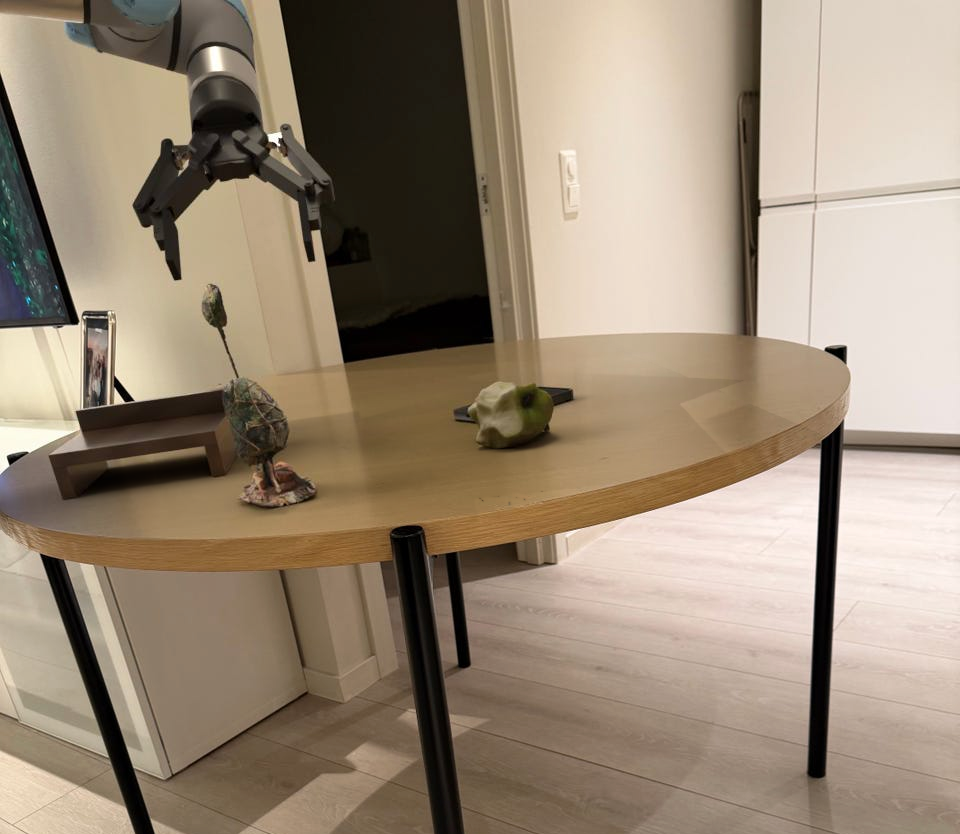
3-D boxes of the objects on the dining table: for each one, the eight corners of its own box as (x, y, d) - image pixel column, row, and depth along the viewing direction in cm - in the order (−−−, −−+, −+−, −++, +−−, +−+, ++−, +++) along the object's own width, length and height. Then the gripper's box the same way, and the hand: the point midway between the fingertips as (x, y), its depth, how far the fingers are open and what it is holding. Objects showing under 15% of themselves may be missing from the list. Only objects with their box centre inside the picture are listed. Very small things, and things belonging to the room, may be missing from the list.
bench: (62, 499, 98) (40, 432, 95) (96, 469, 111) (77, 409, 108) (225, 475, 99) (208, 407, 96) (240, 448, 112) (226, 388, 109)
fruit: (563, 456, 94) (550, 384, 89) (476, 474, 95) (460, 403, 90) (555, 422, 101) (543, 353, 96) (475, 438, 102) (460, 371, 97)
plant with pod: (224, 522, 82) (165, 291, 74) (247, 489, 92) (197, 283, 84) (311, 510, 82) (262, 278, 73) (324, 478, 92) (283, 272, 84)
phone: (576, 388, 114) (490, 414, 106) (577, 397, 115) (491, 423, 106) (533, 386, 120) (448, 410, 111) (534, 394, 120) (450, 419, 112)
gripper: (344, 124, 100) (369, 271, 93) (122, 153, 99) (130, 304, 92) (334, 60, 93) (360, 214, 86) (95, 90, 92) (101, 249, 85)
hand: (242, 261), depth 89 cm, fingers open, 13 cm apart
